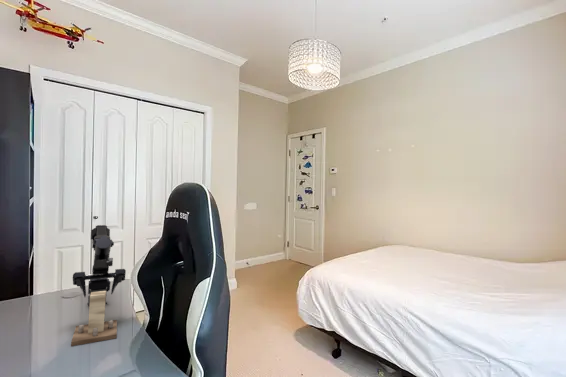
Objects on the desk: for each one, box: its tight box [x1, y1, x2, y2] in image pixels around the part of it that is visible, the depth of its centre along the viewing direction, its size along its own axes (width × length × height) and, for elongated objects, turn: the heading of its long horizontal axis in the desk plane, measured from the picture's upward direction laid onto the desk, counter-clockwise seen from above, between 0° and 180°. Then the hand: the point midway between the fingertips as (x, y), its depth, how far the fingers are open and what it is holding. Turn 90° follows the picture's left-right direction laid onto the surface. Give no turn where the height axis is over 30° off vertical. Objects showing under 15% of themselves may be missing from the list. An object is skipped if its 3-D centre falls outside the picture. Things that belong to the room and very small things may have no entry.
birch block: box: [87, 291, 107, 334], centre depth 113 cm, size 5×5×14 cm
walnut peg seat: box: [70, 319, 118, 347], centre depth 113 cm, size 14×14×4 cm
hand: (98, 295), depth 118 cm, fingers open, 9 cm apart
